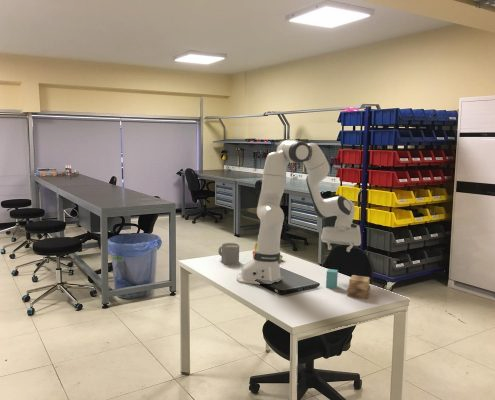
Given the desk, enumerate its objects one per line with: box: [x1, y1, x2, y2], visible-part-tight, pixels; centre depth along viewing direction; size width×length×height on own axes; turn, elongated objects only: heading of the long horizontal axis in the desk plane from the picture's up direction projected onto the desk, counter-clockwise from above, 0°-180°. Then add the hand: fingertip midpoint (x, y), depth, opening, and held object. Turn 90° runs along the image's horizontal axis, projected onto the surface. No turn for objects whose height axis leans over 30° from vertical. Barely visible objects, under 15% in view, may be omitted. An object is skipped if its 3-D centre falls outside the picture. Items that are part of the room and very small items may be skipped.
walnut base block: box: [346, 284, 371, 300], centre depth 211 cm, size 9×9×4 cm
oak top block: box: [348, 274, 371, 291], centre depth 211 cm, size 8×8×4 cm
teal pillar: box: [325, 268, 339, 289], centre depth 221 cm, size 4×4×8 cm
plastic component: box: [253, 242, 283, 262], centre depth 271 cm, size 20×7×10 cm
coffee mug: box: [217, 242, 240, 265], centre depth 260 cm, size 13×10×10 cm
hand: (338, 250), depth 231 cm, fingers open, 8 cm apart
